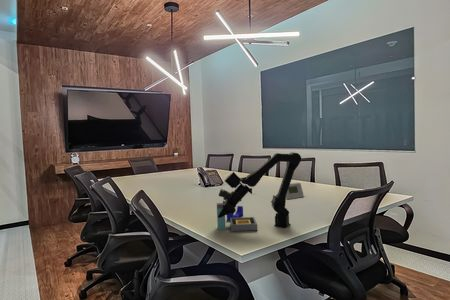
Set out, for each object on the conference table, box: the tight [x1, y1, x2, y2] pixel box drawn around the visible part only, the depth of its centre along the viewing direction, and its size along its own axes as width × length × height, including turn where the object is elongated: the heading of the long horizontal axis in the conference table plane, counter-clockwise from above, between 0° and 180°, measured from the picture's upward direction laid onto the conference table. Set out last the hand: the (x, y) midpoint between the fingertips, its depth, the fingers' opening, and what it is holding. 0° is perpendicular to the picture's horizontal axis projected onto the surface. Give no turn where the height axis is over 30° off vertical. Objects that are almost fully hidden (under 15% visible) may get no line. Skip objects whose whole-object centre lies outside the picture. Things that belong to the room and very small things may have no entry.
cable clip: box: [226, 205, 244, 221], centre depth 174 cm, size 12×4×6 cm, turn 142°
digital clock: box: [286, 182, 305, 200], centre depth 223 cm, size 16×9×11 cm, turn 104°
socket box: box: [229, 216, 258, 233], centre depth 156 cm, size 13×13×4 cm
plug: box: [216, 202, 226, 231], centre depth 156 cm, size 4×4×13 cm
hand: (218, 216), depth 156 cm, fingers closed on plug, 4 cm apart
